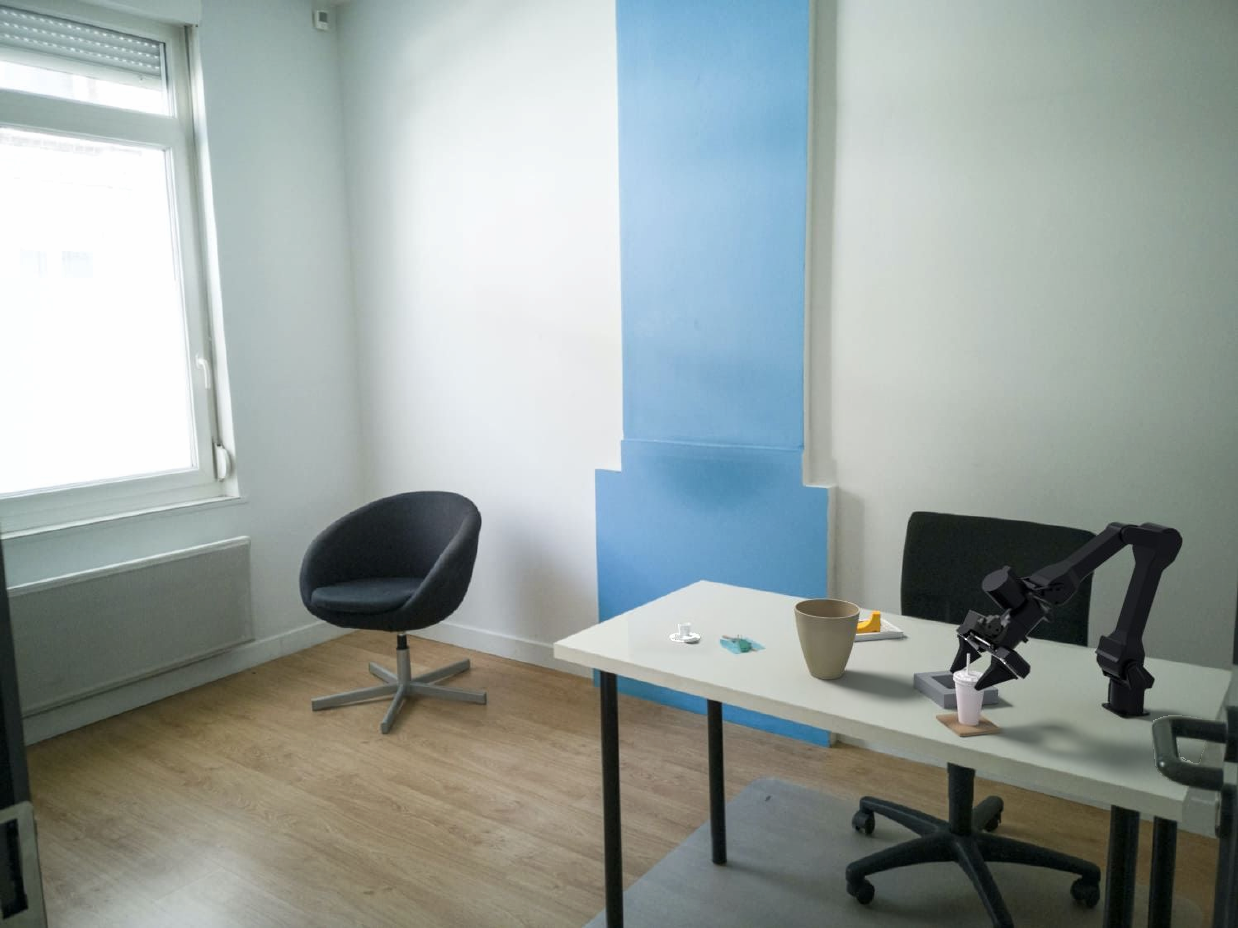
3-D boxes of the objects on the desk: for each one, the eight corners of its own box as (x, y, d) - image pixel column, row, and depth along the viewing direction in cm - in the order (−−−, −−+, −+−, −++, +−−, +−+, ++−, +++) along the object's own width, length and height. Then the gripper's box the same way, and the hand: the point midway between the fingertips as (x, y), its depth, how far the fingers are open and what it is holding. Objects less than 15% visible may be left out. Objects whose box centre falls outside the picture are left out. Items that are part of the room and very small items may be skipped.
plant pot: (781, 667, 217) (782, 602, 215) (835, 659, 222) (836, 595, 220) (814, 689, 203) (815, 620, 201) (872, 680, 208) (873, 612, 206)
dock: (998, 702, 194) (998, 689, 194) (943, 708, 192) (944, 694, 191) (964, 681, 206) (965, 668, 206) (913, 686, 204) (913, 673, 204)
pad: (1001, 732, 180) (1001, 729, 180) (960, 736, 178) (960, 733, 178) (975, 714, 188) (975, 711, 188) (935, 718, 187) (935, 715, 187)
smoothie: (966, 713, 188) (968, 647, 186) (992, 724, 182) (995, 656, 180) (944, 719, 184) (946, 653, 183) (970, 731, 179) (973, 662, 177)
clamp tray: (903, 637, 237) (903, 631, 237) (838, 642, 234) (838, 636, 234) (881, 623, 249) (881, 618, 249) (819, 628, 246) (819, 623, 246)
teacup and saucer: (698, 645, 235) (698, 630, 235) (667, 644, 237) (667, 629, 236) (701, 635, 244) (701, 620, 243) (671, 633, 245) (671, 619, 245)
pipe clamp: (878, 633, 242) (879, 609, 241) (880, 638, 237) (880, 614, 237) (832, 631, 244) (832, 607, 243) (832, 636, 240) (833, 612, 239)
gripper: (966, 585, 189) (914, 640, 189) (1018, 611, 171) (961, 672, 171) (999, 619, 192) (949, 673, 192) (1055, 648, 173) (999, 708, 173)
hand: (963, 680), depth 182 cm, fingers open, 9 cm apart
